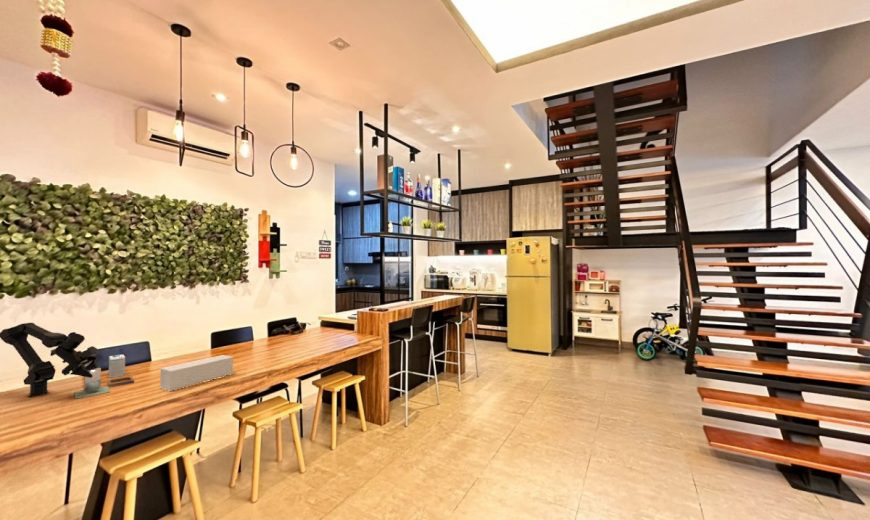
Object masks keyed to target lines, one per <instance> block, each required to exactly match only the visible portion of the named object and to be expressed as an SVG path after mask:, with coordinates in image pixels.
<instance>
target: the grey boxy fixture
mask: <svg viewBox="0 0 870 520" xmlns="http://www.w3.org/2000/svg"><path fill="white" fill-rule="evenodd" d="M125 374H126V356H125V355H124V354H123V353H122V354H115V355H110V356H109V355H108V377H109V378H110V379H111V378H116V377H123V376H124V377H125V376H126V375H125Z"/></svg>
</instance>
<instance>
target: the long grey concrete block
mask: <svg viewBox="0 0 870 520" xmlns="http://www.w3.org/2000/svg"><path fill="white" fill-rule="evenodd" d="M233 373H234V357H233V356H230V355H227V354H226V355H224V354H221V355H216V356H211V357H207V358H202V359H198V360H197V359H196V360H194V361H188V362H183V363H178V364H174V365H170V366H165V367H160V376H159V377H160V384H159V385H160V389H161V388H163V389H162V390H164V389H166V390H169V391H171V392H173V391H172V390H175V391H177V390H176V389H179V390H181V389H180V388H183V387H186V388H188V387H187V386H190V385H193V384H197V383H200V382H203V381H207V380H211V379H214V378H218V377H222V376H226V375H230V374H233ZM233 375H234V374H233ZM197 385H198V384H197ZM190 387H191V386H190ZM183 389H184V388H183ZM166 390H165V391H166ZM169 391H168V392H169Z"/></svg>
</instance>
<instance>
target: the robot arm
mask: <svg viewBox="0 0 870 520" xmlns="http://www.w3.org/2000/svg"><path fill="white" fill-rule="evenodd" d="M28 336H31V337H32V338H36V339H38V340H39V341H41V344H42V345H43V346H44V347H46V348H48V349H51V348H52V349H51V350H50V357H53V356H55V355H56V356H57V357H59V358H60V359H61V360H62V361H61V362H62V363H63V364H65V363H67V366H65V367H64V368H63V369H62V370H61V374H62V375H64V376H67V375H70V376H72V375H74V376H80V377H83V378H84V377H89V378H91V377H92V376H93V375H92V374H91V373H90V372H89V371H88V370H87V369H92V368H99V367H98V365H97V360H98V359H99V358H100V355H98V354H97V353H98V351H97V350H98V348H97V347H95V346H90V347H87V348H86V349H85V350H83V351H81V350H78V351H77V350H76V349H77V348H78V347H79V346H80V345H81V344H82V343H83V342H84V341H85V339H86V338H85V336H84V335H83V334H80V333H77V332H75V331H73V332H69V334H68V335H66V334H64V333H60V332H52V331H49V330H47V329H46V328H43V327H41V326H39V325H36V324H35V323H34V322H24V323H20V324H18V325H15V326H12V327H10V328H4V329H2V330H1V332H0V339H1V341H3V342H4V343H5V344H8V345H11V346H13V348H14V349H15V350H16V351H17V353H18V355H19V356H20V357H21V358H22V360H23V361H24V363H25V364H26V366H28V370H27V376H26V377H25V378H24V379H23V384H24V385H26V386H27V385H29V393H28V398H32V396H33V397H37V396H43V395H49V389H48V381H50V380H54V377H55V374H56V367H55V365H53V363H52V361H50V360H47V361H43V360H42V358H41V357H40V356H39V354H38V353H37V351H36V349H34V347H33V346H32V345H31V344H30V341H29V340H28ZM53 348H54V349H53Z"/></svg>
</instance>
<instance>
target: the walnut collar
mask: <svg viewBox="0 0 870 520" xmlns="http://www.w3.org/2000/svg"><path fill="white" fill-rule="evenodd" d="M134 383H135V379H134V378H133V376H124V377H120V378H114V379H110V380H107V386H108V388H109V387H110V388H114V387H119V386H125V385H131V384H134Z"/></svg>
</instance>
